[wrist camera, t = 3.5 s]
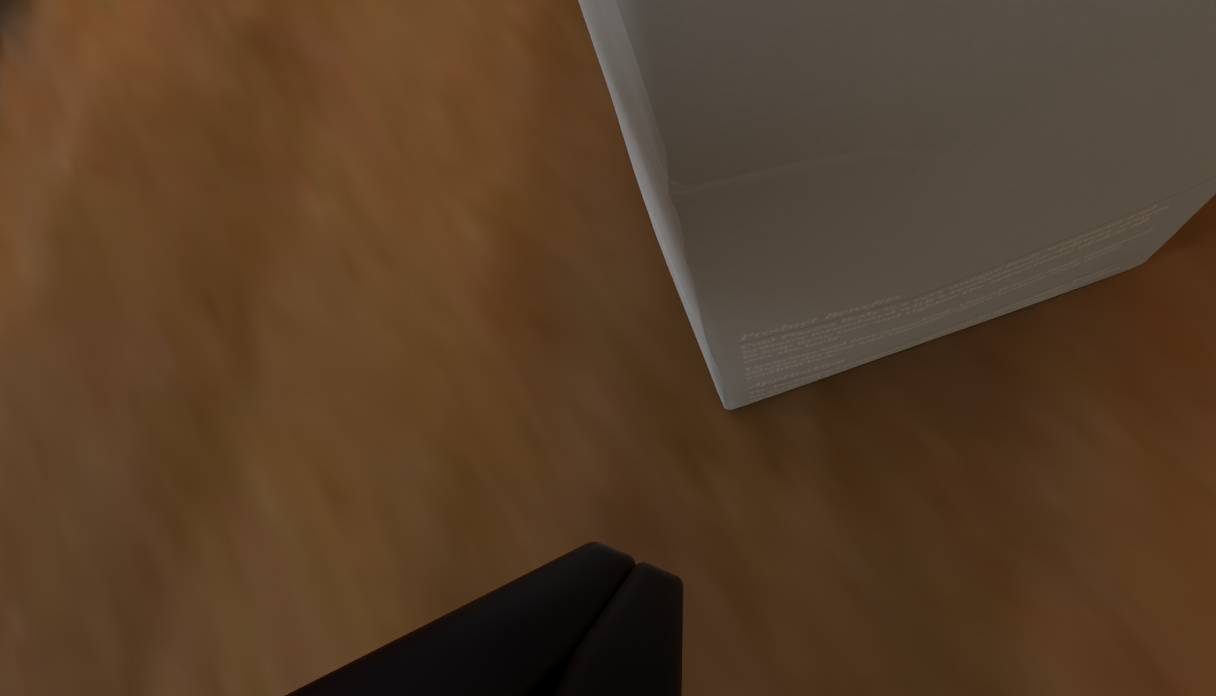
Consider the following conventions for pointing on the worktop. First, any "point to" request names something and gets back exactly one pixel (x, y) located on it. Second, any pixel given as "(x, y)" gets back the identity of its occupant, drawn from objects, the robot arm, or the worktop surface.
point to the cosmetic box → (901, 161)
